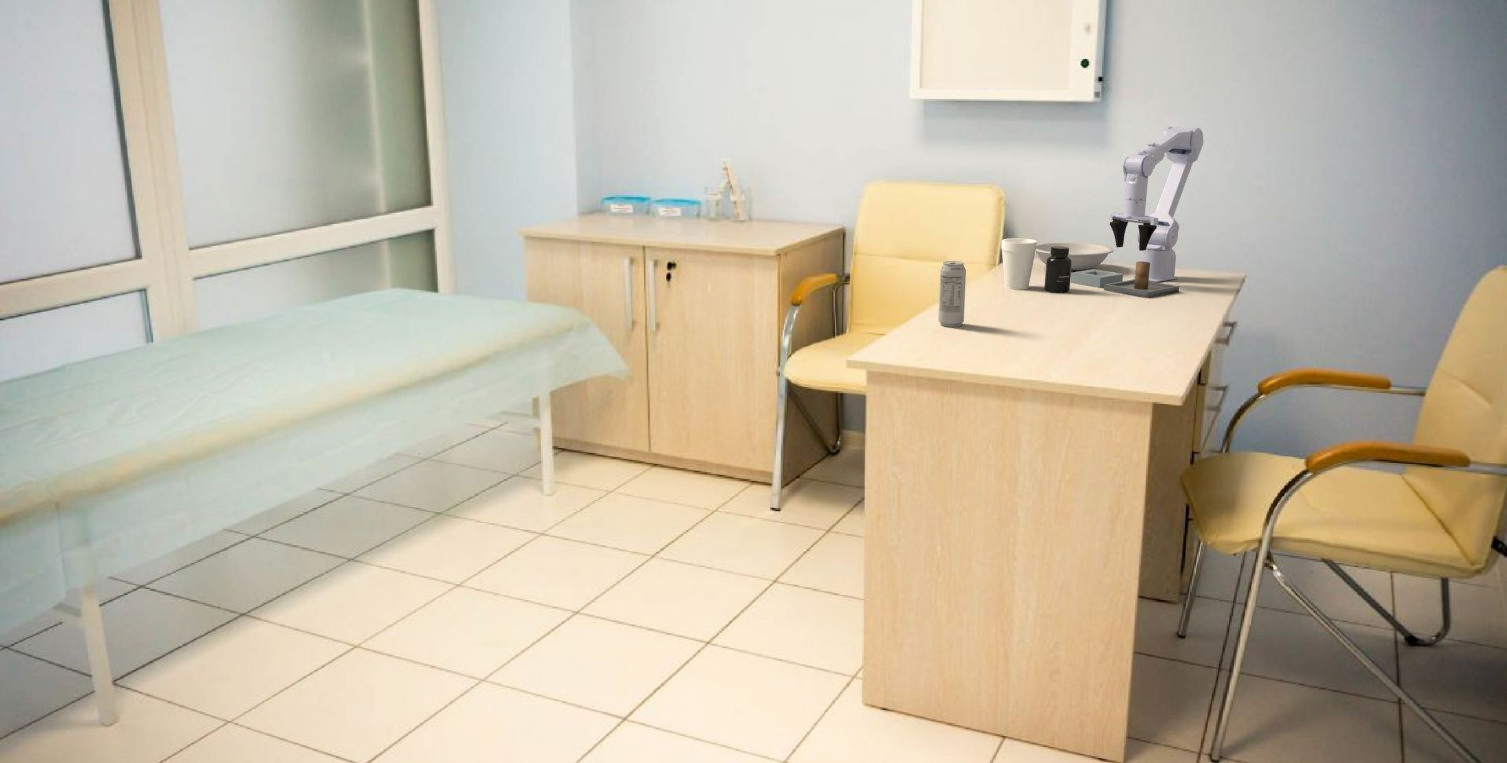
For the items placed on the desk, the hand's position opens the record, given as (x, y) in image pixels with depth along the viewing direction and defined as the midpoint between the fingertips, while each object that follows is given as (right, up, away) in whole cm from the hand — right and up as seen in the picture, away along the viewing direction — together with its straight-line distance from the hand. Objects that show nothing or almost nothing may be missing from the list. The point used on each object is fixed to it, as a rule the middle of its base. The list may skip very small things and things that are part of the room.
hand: (1130, 248), depth 343 cm
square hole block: (-8, -9, +7) cm, 14 cm away
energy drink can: (-57, -23, -45) cm, 76 cm away
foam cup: (-31, -11, +1) cm, 33 cm away
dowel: (+1, -11, -5) cm, 12 cm away
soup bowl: (-9, -3, +29) cm, 30 cm away
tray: (+1, -12, -5) cm, 13 cm away
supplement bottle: (-21, -12, -4) cm, 25 cm away
